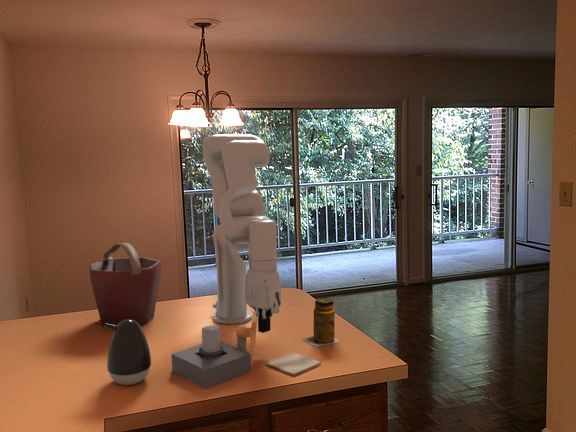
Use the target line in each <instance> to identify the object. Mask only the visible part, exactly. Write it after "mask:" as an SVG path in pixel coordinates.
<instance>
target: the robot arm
mask: <svg viewBox="0 0 576 432" xmlns="http://www.w3.org/2000/svg"><path fill="white" fill-rule="evenodd" d="M269 150H270V149H269V147H268V145H267V143H266V142H265V141H264V140H263V139H262V138H260V137H258V136H256V135H253V134H250V133H246V134H241V133H240V134H239V133H238V134H234V133H233V134H232V133H222V134H221V133H219V134H212V135H209V136H207V137H205V138H204V140H203V143H202V158H203V160H204V164H205V166H206V169H207V171H208V173H209V177H210V181H211V189H212V198H213V206H214V211H215V215H216V216H217V218H219V221H220V223H219V225H217V226H216V227H214V229H213V233H212V239H213V244H214V251H215V261H216V289H217V292H216V293H217V295H216V296H217V299H216V302H215V303H213V304H212V309H213V308H214V309H215V311H216V312H215V313H213V315H212V319H213V321H214V322H216V323H217V324H221V325H222V324H223V325H240V324H243V323H247V322H249V321H250V320H252V317H253V313H251V311H248V307H249V308H250V309H253V310H254V312H256V316H257V331H258V332H259V333H262V334H264V333H267V332H270V331H271V318H272V317H273V315H276V314H278V313H279V314H280V307H281V306H282V305H281V303H282V288H281V277H280V274H279V273H280V272H279V270H278V251H277V250H278V247H277V245H278V244H277V243H278V241H277V240H278V239H277V222H276V221H275V220H274V219H270V218H269V217H268V216H266V213H265V205H264V199H263V197H262V195H261V193H260V192H259V191H258V190H256V189H257V187H258V180H257V175H256V172H255V169H258V168H264V167H267V166H268V165H269V163H270V159H271V158H270V154H271V153H270V151H269ZM242 252H248V269H247V265H246V262H245V260H244V259H243V258H242V257H241V256H240V254H239V253H242Z"/></svg>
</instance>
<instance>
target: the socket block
mask: <svg viewBox="0 0 576 432" xmlns="http://www.w3.org/2000/svg"><path fill="white" fill-rule="evenodd" d="M236 341H237V342H236V344H237V345H236V346H235V345H232V344H230V343H227V342H224V341H222V340H220V346H222V347H223V353H222V354H221V355H220V357H217V358H214V359H211V360H207V359H205V358H203V356H202V355H200V354H199V349H200V348H201V347H202V343H201V344H198V345H194V346H192V347H188V348H184V349H183V350H179V351H177V352H173V353H171V372H172V373H174V374H177V375H178V376H181V377H182V378H184V379H186V380H188V381H190V382H192V383H193V384H196V385H198V386H199V387H201V388H204V389H205V390H207V389H209V388H213V387H215V386H216V385H217V386H218V385H220V384H222V383H224V382H227V381H229V380H232V379H234V378H237V377H239V376H241V375H244V374H247V373H249V372H251V371H252V360H251V359H252V354H249V351H247V337H246V338H237V337H236Z"/></svg>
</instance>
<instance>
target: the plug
mask: <svg viewBox="0 0 576 432" xmlns="http://www.w3.org/2000/svg"><path fill="white" fill-rule="evenodd" d="M220 341H221V328H220V327H219V326H216V325H207V326H204V327H202V328H201V344H202V347H201V348H200V349H199V354H200V355H202V356H203V358H205V359H207V360H211V359H214V358H217V357H220V355H221V354H222V353H223V347H222V346H220Z"/></svg>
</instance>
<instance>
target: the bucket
mask: <svg viewBox="0 0 576 432" xmlns="http://www.w3.org/2000/svg"><path fill="white" fill-rule="evenodd" d="M120 247H121V248H123V250H124V251H125V252H126V255H127V256H128V257H113V256H112V254H113V253H115V252H116V251H118V250H119V248H120ZM102 257H103V260H100V261H95V262H90V263H88V268H89V269H88V270H89V279H90V283H91V287H92V291H93V295H94V300H95V304H96V307H97V310H98V315H99V319H100V323H101V327H102V328H105V324H106V323H108V324H112V325H115V326H117V325H118V324H119V323H120V322H121V321H123V320H125V319H132V320H135V321H136V322H137V323H138V324H139V325H140V326H143V325H147V324H148V323H149V322H150V321H151V320H152V319H153V318H154V316H155V311H156V305H157V299H158V293H159V287H160V280H161V274H162V261H161V260H157V259H153V258H150V257H146V256H145V257H144V256H139V255H138V252H137V251H136V249H135V247H134V246H133V245H132V244H130V243H128V242H118V243H113V244H112V245H111V246H110V247H109V248H108V249H107V250H105V251H104V252H103V254H102Z"/></svg>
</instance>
